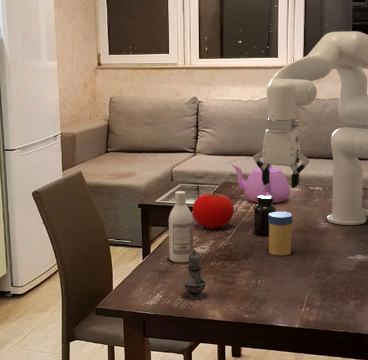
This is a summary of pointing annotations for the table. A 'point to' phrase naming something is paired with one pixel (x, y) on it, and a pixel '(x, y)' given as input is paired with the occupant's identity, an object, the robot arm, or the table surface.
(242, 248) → the table surface
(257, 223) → the supplement bottle
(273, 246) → the jar
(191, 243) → the bath foam
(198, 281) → the dark grey figurine
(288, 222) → the lid
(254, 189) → the teapot
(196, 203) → the tomato
